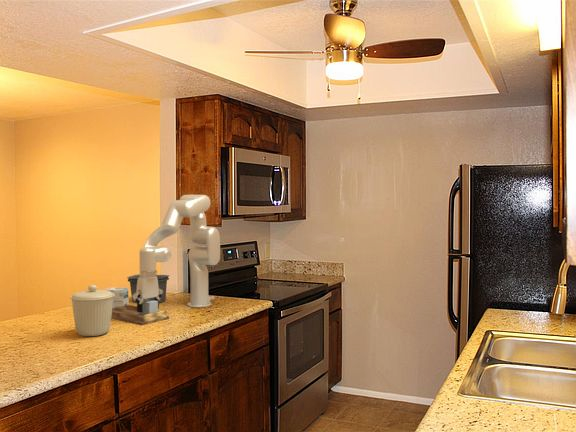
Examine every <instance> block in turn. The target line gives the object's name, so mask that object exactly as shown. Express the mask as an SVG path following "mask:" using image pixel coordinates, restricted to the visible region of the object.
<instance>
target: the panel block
mask: <svg viewBox="0 0 576 432" xmlns="http://www.w3.org/2000/svg"><path fill="white" fill-rule="evenodd" d="M141 304H143V312H139V315H140V316H143V315H146V314H151V313H155V312H158V311H159V309H158V301H154V300H149V299H145V300H143V302H142V303H141Z"/></svg>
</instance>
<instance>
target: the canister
mask: <svg viewBox="0 0 576 432" xmlns="http://www.w3.org/2000/svg"><path fill="white" fill-rule="evenodd" d="M87 289H88V290H81V291H77V292H74V293H73V294H72V295H70V296H69V299H70V300H71V306H72V313H73V319H74V326H75V331H76V333H77V334H78V335H79V336H82V337H97V336H103V335H105V334H106V333H108V332H109V330H110V328H111V323H112V322H111V321H112V318H111V316H112V306H113V297H114V296H115V294H114V293H112V292H110V291H107V290H104V289H98V287H97V285H95V284H89V285H88V288H87Z"/></svg>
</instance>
